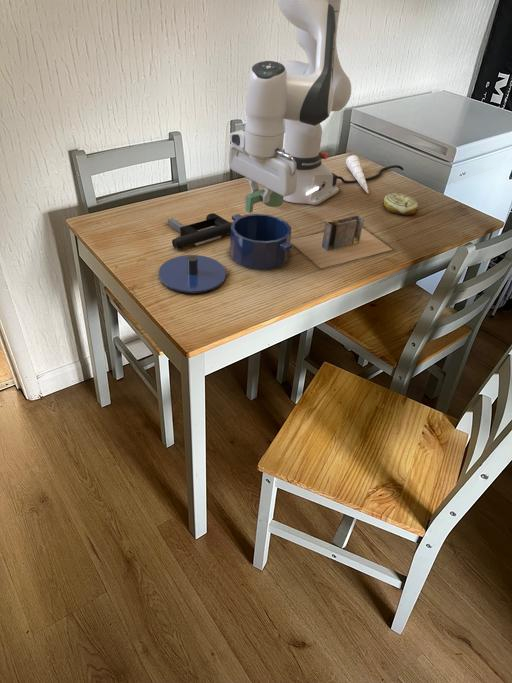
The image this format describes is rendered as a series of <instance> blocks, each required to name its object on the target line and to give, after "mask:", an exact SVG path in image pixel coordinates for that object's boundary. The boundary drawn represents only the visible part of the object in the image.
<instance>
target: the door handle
mask: <svg viewBox="0 0 512 683" xmlns="http://www.w3.org/2000/svg"><path fill="white" fill-rule="evenodd" d="M232 222H233V221H228V220H226V219H225V218H223V217H222V216H220V215H219V214H216V213H213V212H211V213H209V214H207V215H206V217H205V220H201V221H198V222H195V223H191V224H186V225H185V224H182V223H181V222H179V221H178V220H176V219H175V218H174V217H171V218H167V225H168V226H170V227H171V228H172V229H173V230H175V231H176V232H178V233H179V234H180V235H179V236H178V237H175V238H173V239H172V240H171V244H172V247H173V248H174V249H176V250H177V249H183V248H186V247H189V246H192V245H194V246H195V247H198V246H199V245H203V244H207V243H209V242H213V241H216V240H219V239H222V237H223V236H226V235H229V234H231V225H232Z"/></svg>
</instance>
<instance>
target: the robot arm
mask: <svg viewBox="0 0 512 683" xmlns="http://www.w3.org/2000/svg"><path fill="white" fill-rule="evenodd" d="M341 2H342V0H277V4H278V7H279V10H280V12H281V13H282V15H283V16H284V17H285V19H286V20H287V21H288V22H289V23H290V24H292V25H293V26H295V27H296V28H295V29H296V30H295V39H296V42H297V44H298V46H299V47H300V48H301V49H302V50H303V51H304V53H305V54H306V57H307V60H308V63H307V62H303V61H299V60H279V61H274V60H263V61H259V62H257V63H255V64H253V65H252V66H251V68H250V71H249V76H248V80H247V87H246V97H245V112H246V122H245V125H244V129H243V128H242V129H240V130H236V131H233V132H230V133H229V138H228V139H229V143H230V144H229V147H228V165H229V168H230V170H231V171H234V172H235V173H238V174H239V175H241V176H243V177H245V178H247V179H248V181H247V182H248V184H249V187H250V189H251V192H250V194H252V193H255V192H257V191H260V190H261V189H260V188H259V185H260V186H262V187H263V189H264V190H265V193H264V194H262V195H261V197H260V198H261V199H260V202H262V203H263V204H264V203H268V202H269V200H270V195H271V193H272V192H273V191H274V192H276V193H278V194H280V195H281V196H284V197H283V201H284V202H289V203H292V204H308V205H314V206H317V205H319V204H321V203H323V202H324V201H326V200H328V199H330V197H332V196H334V195H335V194H337V193H339V190H340V189H339V187H338V186H337V181H338V180H340V181H341V182H342V183H343V184H356V183H358V181H357V180H356V179H354V180H346V179H344V177H342V176H339V175H337V174H335V173H334V172H332V171H331V170H330V169H329V168H328V167H327V166H326V165H325V164H324V163H322V159H323V160H327V159H328V157H329V153H328V152H324V151H320V150H321V143H322V137H323V128H322V127H323V126H322V125H321V123H323V122H324V121H326V120H328V118H329V117H330V114H331V113H332V112H340V111H341V110H343V108H345V107H346V106H347V104H348V103H349V101H350V98H351V97H352V96H351V95H352V82H351V80H350V77H349V76H348V75H347V74H346V72H345V71H344V69H343V67H342V64H341V61H340V59H339V54H338V49H337V48H338V47H337V37H338V36H337V35H338V28H339V27H338V26H339V18H340V17H339V16H340V11H341V10H340V9H341ZM284 122H285V124H284ZM390 169H399V170H401V171H404V170H405V169H404V168H403V167H402V166H401V165H400V164H399V165H397V164H394V165H389V166H386V167H383V168H381V169H380V170H379V171H378V173H377V174H375V175H373V176H370V177H365V180H366V182H367V181H371V180H374V179H376V178H378V177H380V176H381V174H382V172H385V171H386V170H390Z"/></svg>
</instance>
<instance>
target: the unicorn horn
mask: <svg viewBox="0 0 512 683" xmlns="http://www.w3.org/2000/svg"><path fill="white" fill-rule="evenodd" d="M360 161H361V160H360V158H359V157H358V156H357V155H356V154H352V155H349V156H348V157H347V158H346V159H345V166H346V167H347V169H348V170H349V171H350V173H351V174H352V176H353V177H354V178H355V180H357V181H358V182H357V183H358V184H359V185H360V187H361V188H362V189H363V191H364V192H365V193H366V194H369V187H368V184H367V181H366V180H365V178H366V177H365V174H364V171H363V167H362V164H361V162H360Z"/></svg>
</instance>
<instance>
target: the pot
mask: <svg viewBox="0 0 512 683" xmlns="http://www.w3.org/2000/svg"><path fill="white" fill-rule="evenodd" d="M231 220H232V221H231V222H232V225H231V233H230V242H229V254H230V257H231V259H232V260H233V261H234V262H235V263H236V264H238V265H240V266H241V267H244V268H246V269H247V268H248V269H251V270H259V271H260V270H261V271H264V270H265V271H266V270H273V269H277V268H280V267H282V266H283V265H285V264H286V262H287V261H288V260H289V255H290V250H292V249H293V246H294V245H293V244H292V243H291V242H290V240H292V239H291V237H292V226H291V225H290V224H289V222H287V221H286V220H284V219H282V218H281V217H279V216H274V215H271V214H266V213H265V214H264V213H248V214H244V215H241V214H240V213H235V214H234V215H232V216H231Z"/></svg>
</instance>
